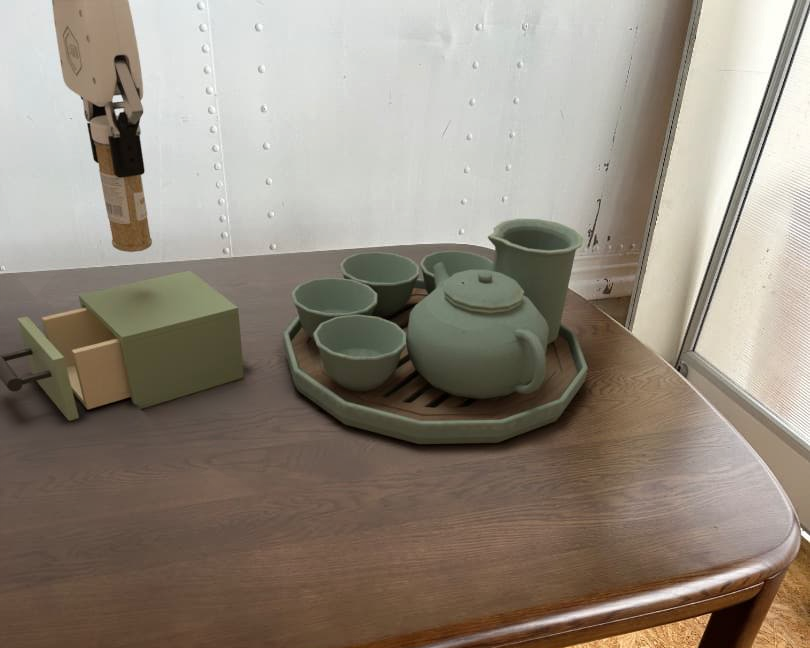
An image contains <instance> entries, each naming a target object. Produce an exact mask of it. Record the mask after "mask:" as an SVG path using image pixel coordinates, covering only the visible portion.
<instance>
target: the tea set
mask: <svg viewBox="0 0 810 648" xmlns="http://www.w3.org/2000/svg"><path fill="white" fill-rule="evenodd" d="M487 239H488V240H489V241H490V243H491V244H492V245H493V246H494V256H493V261H492V260H491V259H489V258H488V257H486V256H483V255H480V254H477V253H474V252H470V251H461V250H460V251H459V250H445V251H435V252H432V253H430V254H428V255H425V256H423V258H422V260H421V262H420V263H419V264H417V263H416V262H415V261H414V260H412V259H411V258H409V257H407V256H403V255H400V254H397V253H392V252H384V251H369V252H367V251H366V252H357V253H355V254H353V255H349V256H347V257H345V258H344V259H343V260H342V262H341V263H340V264H339V268H340V271H341V273H342V276H343V278H339V277H323V278H313V279H311V280H308V281H305V282H302V283H299V284H298V285H297V286H296V287H295V288H294V289H293V291H292V292H291V294H290V295H291V299H292V302H293V305H294V306H295V308H296V310H297V311H296V312H297V316H296V317H295V318H294V319H293V321H292V322H291V323H290V325H289V326H288V327H287V328H286V330H285V331H284V332H283V334H282V336H283V337H282V338H283V348H284V352H285V356H286V359H287V363H288V366H289V370H290V374H291V377H292V381H293V384H294V386H295V388H296V390H297V391H298V392H299V393H301V394H302V395H303V396H304V397H306V398H307V399H309V400H310V401H311V402H313V403H314V404H316V405H317V406H319V407H320V408H321V409H323V410H324V411H326V412H327V413H328V414H330V415H331V416H332V417H334V418H335V419H336V420H338V421H339V422H341V423H342V424H344V425H345V426H350V427H353V428H357V429H361V430H364V431H367V432H372V433H375V434H379V435H383V436H387V437H391V438H395V439H398V440H402V441H405V442H409V443H413V444H417V445H443V444H444V445H446V444H491V443H492V444H494V443H495V444H496V443H497V444H498V443H501V442H503V441H506V440H508V439H511V438H514V437H516V436H520V435H522V434H525V433H528V432H531V431H534V430H536V429H539V428H541V427H543V426H546V425H549V424H552V423H555V422H557V420H558V419H559V418H560V417H561V416H562V414H563V413H564V412H565V409H567V407H568V406H569V404H570V403H571V401H572V400H573V399H574V397H576V394H577V393H578V392H579V390H580V388H581V387H582V386H583V384H584V383H585V381H586V378H587V374H588V370H589V368H588V365H587V362H586V360H585V357H584V353H583V351H582V348H581V345H580V343H579V340H578V336H577V334H576V333H575V332H574V331H573V330H572V329H570V328H569V327H567V326H566V325H565V324H563V323H562V318H563V313H564V310H565V309H564V308H565V303H566V299H567V295H568V290H569V285H570V280H571V276H572V275H571V274H572V270H573V265H574V260H575V256H576V251H577V250H578V249H580V248H581V247H582V245H583V240H584V237H583V236H582V235H581V234H579V232H578V231H576V229H574V228H572V227H570V226H567V225H565V224H562V223H559V222H555V221H550V220H546V219H545V220H544V219H539V218H513V219H508V220H504V221H501V222H500V223H498V224H497V225H496V226H494V227H493V232H492V233H490V234H489V235H487ZM420 270H421V271H422V272H421V273H422V277H423V278H419V277H420V275H421V274H420Z"/></svg>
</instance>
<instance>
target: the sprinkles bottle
mask: <svg viewBox="0 0 810 648" xmlns="http://www.w3.org/2000/svg"><path fill="white" fill-rule="evenodd" d="M118 116H119V114H116V118H117V120H118ZM89 123H90V128H91V134H92V139H93V140H94V144H95V146H96V152H97V157H98V163H97V164H98V171H99V177H100V184H101V188H102V194H103V200H104V204H105V210H106V216H107V219H108V221H109V227H110V232H111V237H112V238H111V244H112V247H113V248H115V249H117V250H118V251H121V252H125V253H126V252H128V253H134V252H135V253H136V252H142V251H145V250H147V249H149V248H151V246H152V245H153V239H152V238H151V232H150V226H149V220H148V210H147V203H146V199H145V191H144V185H143V178H142V175H136V176H129V177H123V178H118V177H117V176H116V175H115V174H114V169H113V163H112V157H111V151H110V145H109V139H108V136H112V134H111V130H110V126H109V122H108V118H107V115H104V116H98V117H95V118H93V119H91V120H90V122H89Z"/></svg>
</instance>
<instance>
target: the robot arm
mask: <svg viewBox="0 0 810 648" xmlns="http://www.w3.org/2000/svg"><path fill="white" fill-rule="evenodd" d="M51 3H52V5H51V6H52V14H53V21H54V28H55V35H56V42H57V48H58V49H57V50H58V55H59V62H60V67H61V73H62V74H61V75H62V78H63V82H64V84H65V86H66V87H67V88H68V89H69V90H71V92H73V93H74V94H75V95H78V96H79V97H80V99H81V100H82V105H83V114H84V118H85V120H86V125H87V131H88V136H89V142H90V148H91V154H92V158H93V161H94V162H95V163H96V164H99V163H98V157H97V152H96V146H95V144H94V140H93V139H92V134H91V128H90V120H91V119H93V118H95V117H98V116H104V115H107V118H108V122H109V126H110V130H111V134H112V136H108V139H109V145H110V151H111V157H112V163H113V169H114V174H115V175H116V176H117V177H118V178H123V177H129V176H136V175H141V176H142V175H144V174H145V172H146V171H145V164H144V155H143V150H142V141H141V133H142V131H141V126H140V123H141V122H140V121H141V118H142V116H143V114H144V107H143V104H142V102H141V101H142V100H143V97H144V83H143V74H142V66H141V60H140V54H139V48H138V42H137V36H136V31H135V26H134V21H133V15H132V10H131V7H130V1H129V0H51ZM114 96H120V97H121V98H122V101H115V102H114V101H113V100H114V99H113V98H114ZM120 109H123V111H119V113H118V115H119V116H118V120H117V118H116V115H117V114H116V110H120Z"/></svg>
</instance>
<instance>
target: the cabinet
mask: <svg viewBox="0 0 810 648" xmlns="http://www.w3.org/2000/svg"><path fill="white" fill-rule="evenodd" d="M78 300H79V305H80V309H81V308H85V307H86V308H87V309H89V310H90V311H91V312H92V313H93V314H94V315H95V316H96V317H97V318H98V319H99V320H100V321H101V322H102V323H103V324H104V325H105V326H106V327H107V328H108V329H109V330H110V331H111V332H112V333H113V334H114V335H115V336H116V337H117V338H118V339H119V340H120V342H121V347H122V353H123V358H124V363H125V368H126V373H127V378H128V384H129V389H130V394H131V397H129V399H130V400H131V402H132V403H133V405H136V406H137V407H138V408H139V409H140V410H143V409H146V408H149V407H153V406H155V405H159V404H163V403H166V402H169V401H172V400H175V399H179V398H181V397H184V396H185V397H186V396H189V395H192V394H195V393H199V392H201V391H205V390H209V389H211V388H214V387H218V386H222V385H225V384H228V383H231V382H234V381H238V380H241V379H244V377H245V376H244V360H243V349H242V338H241V337H242V335H241V325H240V315H239V313H240V312H239V307H238V306H237V305H236V304H234V303H233V302H231V300H229V299H228V298H227V297H225V296H224V295H222V294H221V293H220V292H219V291H217V290H216V289H214V287H212V286H211V285H210V284H208V283H207V282H205V280H203V279H202V278H200V277H199V276H198V275H197V274H195V273H194V272H193V271H191V270H186V271H185V270H184V271H180V272H176V273H172V274H167V275H163V276H158V277H154V278H153V277H152V278H149V279H145V280H140V281H135V282H131V283H126V284H122V285H117V286H113V287H108V288H104V289H100V290H99V289H98V290H95V291H91V292H85V293H81V294H78Z"/></svg>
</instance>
